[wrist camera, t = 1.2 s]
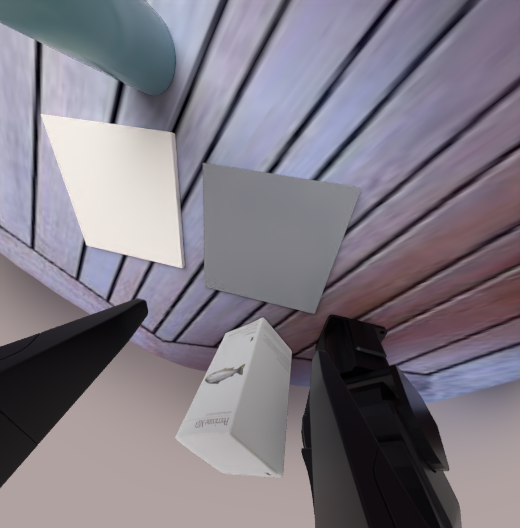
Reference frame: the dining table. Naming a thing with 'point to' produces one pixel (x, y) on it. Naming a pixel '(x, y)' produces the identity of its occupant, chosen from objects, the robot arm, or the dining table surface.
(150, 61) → the teal cylinder
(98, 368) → the robot arm
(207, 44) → the dining table surface
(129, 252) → the pale tile
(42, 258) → the dining table surface
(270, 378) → the supplement box
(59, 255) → the dining table surface
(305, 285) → the slate tile
